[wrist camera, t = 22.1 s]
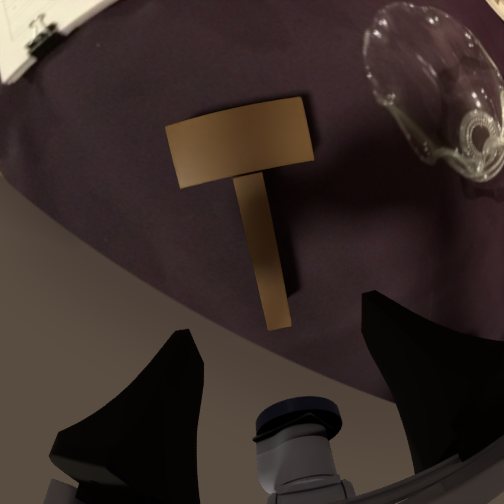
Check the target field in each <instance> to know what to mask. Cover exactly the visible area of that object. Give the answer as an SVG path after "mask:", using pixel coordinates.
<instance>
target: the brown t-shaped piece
mask: <svg viewBox="0 0 504 504" xmlns="http://www.w3.org/2000/svg"><path fill="white" fill-rule="evenodd" d="M165 130H166V134H167V138H168V142H169V147H170V151H171V155H172V159H173V163H174V167H175V171H176V175H177V179H178V183H179V186H180V189H183V188H187V187H190V186H194V185H198V184H202V183H206V182H210V181H214V180H219V179H223V178H227V177H231V176H234V177H233V182H234V186H235V191H236V195H237V199H238V204H239V208H240V212H241V217H242V221H243V225H244V229H245V234H246V238H247V242H248V247H249V251H250V255H251V259H252V264H253V268H254V272H255V276H256V281H257V285H258V289H259V294H260V298H261V302H262V306H263V311H264V315H265V319H266V323H267V328H268V330H269V331H270V330H275V329H280V328H285V327H290V326H292V323H291V317H290V312H289V306H288V301H287V295H286V289H285V284H284V279H283V273H282V268H281V263H280V257H279V252H278V247H277V242H276V237H275V232H274V227H273V222H272V217H271V212H270V207H269V202H268V197H267V192H266V187H265V183H264V178H263V173H262V172H261V170H264V169H269V168H274V167H279V166H285V165H290V164H295V163H301V162H307V161H313V160H314V154H313V149H312V144H311V139H310V134H309V129H308V124H307V119H306V115H305V110H304V106H303V101H302V97H293V98H286V99H279V100H273V101H267V102H262V103H256V104H251V105H246V106H241V107H236V108H232V109H227V110H223V111H219V112H215V113H211V114H207V115H203V116H199V117H195V118H192V119H188V120H185V121H181V122H178V123H174V124H171V125H168V126H166V127H165Z"/></svg>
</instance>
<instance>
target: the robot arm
mask: <svg viewBox="0 0 504 504" xmlns="http://www.w3.org/2000/svg"><path fill="white" fill-rule="evenodd" d="M361 332H362V334H363V337H364V339H365V342H366V345H367V347H368V350H369V352H370V354H371V355H372V357H373V359H374V361H375V363H376V365H377V366H378V368H379V370H380V372H381V374H382V376H383V377H384V379H385V381H386V383H387V385H388V387H389V389H390V391H391V393H392V395H393V397H394V400H395V403H396V405H397V408H398V411H399V413H400V417H401V420H402V423H403V426H404V429H405V432H406V436H407V440H408V444H409V448H410V452H411V456H412V461H413V466H414V472H415V475H413V476H411V477H409V478H406V479H404V480H401V481H399V482H396V483H394V484H391V485H388V486H385V487H383V488H380V489H377V490H374V491H371V492H368V493H365V494H361V495H358V496H356V495H355V492H354V488H353V486H352V484H351V482H349V481H347V480H345V479H344V480H340V476H339V475H337V473H336V469H335V465H334V460H333V456H332V452H331V448H330V444H329V440H328V437H330V436H333V435H335V434H336V433H337V430H336V429H334V428H333V427H331V426H330V425H328V424H327V423H325V422H324V421H322V420H321V419H320V418H318V417H317V416H315V415H314V414H312V413H306V414H304V415H302V416H300V417H298V418H296V419H294V420H292V421H290V422H287V423H285V424H283V425H281V426H279V427H276V428H274V429H272V430H270V431H267V432H265V433H262V434H260V435H258V436H255V437H253V439H252V440H253V441H254V442H256V451H257V471H258V479H259V482H260V484H261V486H262V488H263V489H264V490H265V491H266V492H267V493H269V494H270V495H271V496H270V497H269V498H268V503H267V504H395V503H397V502H399V501H402V500H404V501H402V502H400V503H398V504H487V503H489V502H490V501H491V500H493V499H494V498H495V497H497V496H498V495H499V494H501V493H502V492H503V491H504V341H496V340H490V339H484V338H479V337H475V336H471V335H467V334H464V333H460V332H457V331H454V330H451V329H449V328H446V327H444V326H441V325H439V324H436V323H434V322H432V321H430V320H428V319H426V318H424V317H422V316H420V315H418V314H416V313H414V312H412V311H410V310H408V309H407V308H405V307H403V306H401V305H400V304H398V303H396V302H395V301H393V300H391V299H390V298H388V297H386V296H385V295H383V294H381V293H379V292H378V291H376V290H373V291H370V292H366V293H362V328H361ZM203 385H204V362H203V360H202V358H201V356H200V354H199V351H198V349H197V347H196V344H195V342H194V340H193V337H192V335H191V333H190V330H189V329H185V330H178V331H175V332H174V333H173V334H172V335H171V337H170V338H169V339H168V340H167V342H166V343H165V344H164V345H163V347H162V348H161V349H160V350H159V352H158V353H157V354H156V355H155V357H154V358H153V359H152V360H151V362H150V363H149V364H148V365H147V366H146V367H145V368H144V370H143V371H142V372H141V373H140V374H139V375H138V376H137V377H136V379H135V380H134V381H133V382H132V383H131V384H130V385H129V386H128V387H126V388H125V389H124V390H123V391H122V392H121V393H120V394H119V395H118V396H116V397H115V398H114V399H113V400H111V401H110V402H109V403H107V404H106V405H105V406H104V407H102V408H101V409H100V410H98V411H97V412H95V413H94V414H92V415H90V416H89V417H87V418H85V419H84V420H82V421H80V422H78V423H77V424H75V425H73V426H71V427H69V428H66V429H64V430H62V431H60V432H58V434H57V437H56V439H55V442H54V444H53V447H52V449H51V452H50V454H49V458H50V460H51V461H52V463H53V464H54V465H55V466H57V467H58V468H59V469H60V470H62V471H63V472H64V473H66V474H67V475H68V476H70V477H71V478H73V479H74V480H76V481H77V482H78V483H79V486H78V488H76V487H73V486H71V485H69V484H66V483H63V482H60V481H58V480H55V479H51V482H50V485H49V488H48V491H47V494H46V497H45V500H44V504H200V498H199V489H198V476H197V427H198V420H199V413H200V406H201V400H202V393H203ZM409 497H410V498H409ZM407 498H408V499H407ZM405 499H406V500H405Z"/></svg>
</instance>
